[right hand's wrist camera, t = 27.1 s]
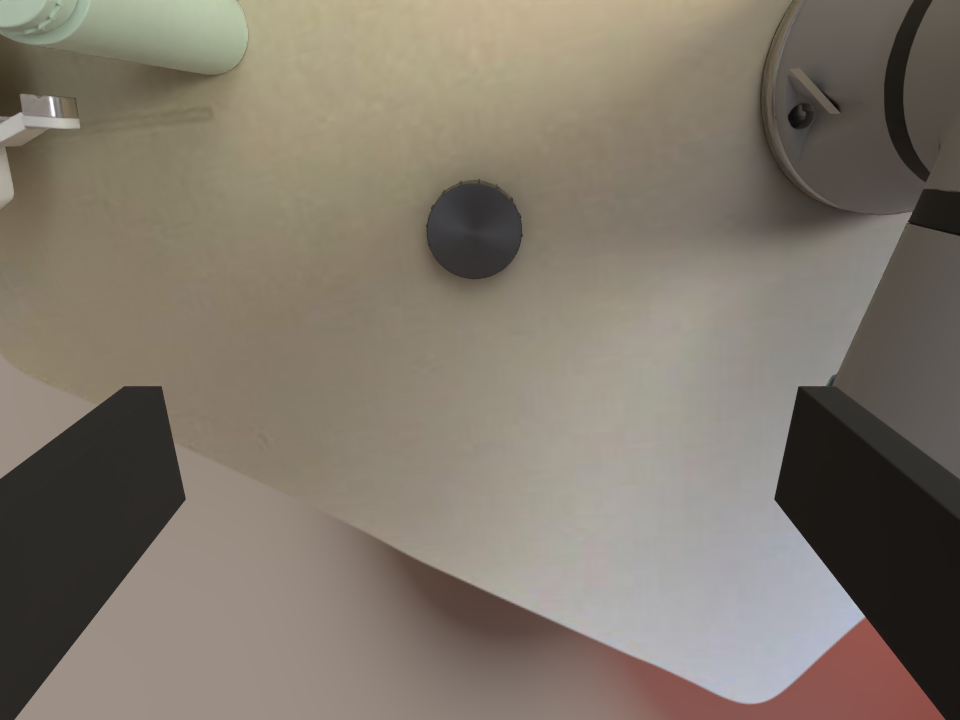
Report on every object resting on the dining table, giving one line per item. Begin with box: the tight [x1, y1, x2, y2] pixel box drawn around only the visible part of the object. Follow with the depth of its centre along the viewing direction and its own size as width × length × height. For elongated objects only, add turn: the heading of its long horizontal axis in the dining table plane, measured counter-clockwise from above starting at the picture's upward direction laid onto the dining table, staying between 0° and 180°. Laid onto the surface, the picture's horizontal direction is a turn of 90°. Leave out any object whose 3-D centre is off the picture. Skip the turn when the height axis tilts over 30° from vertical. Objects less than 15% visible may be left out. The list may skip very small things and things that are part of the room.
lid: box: [426, 179, 523, 279], centre depth 37 cm, size 6×6×2 cm
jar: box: [0, 0, 248, 75], centre depth 26 cm, size 5×5×16 cm
